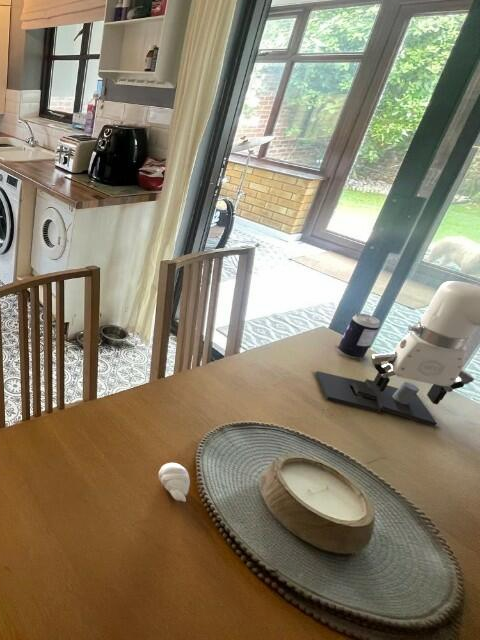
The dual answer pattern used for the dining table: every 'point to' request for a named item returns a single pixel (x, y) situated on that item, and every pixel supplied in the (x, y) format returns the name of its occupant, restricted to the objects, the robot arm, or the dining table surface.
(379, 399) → the pad
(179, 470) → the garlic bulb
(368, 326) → the beverage can
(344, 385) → the notch pad
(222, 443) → the dining table surface
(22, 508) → the dining table surface
